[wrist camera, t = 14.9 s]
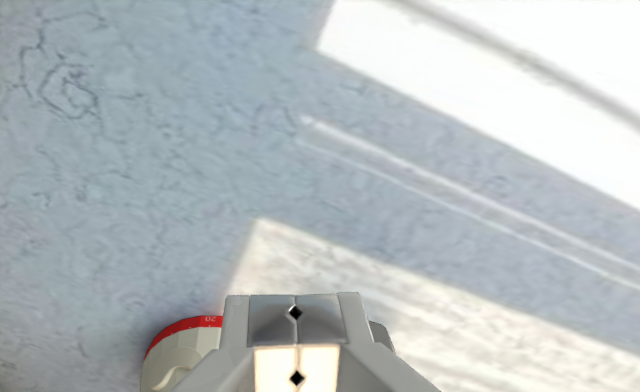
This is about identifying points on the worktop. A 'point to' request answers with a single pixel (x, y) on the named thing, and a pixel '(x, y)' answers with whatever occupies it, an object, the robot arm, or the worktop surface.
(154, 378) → the kitchen timer
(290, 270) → the worktop surface
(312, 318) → the robot arm
